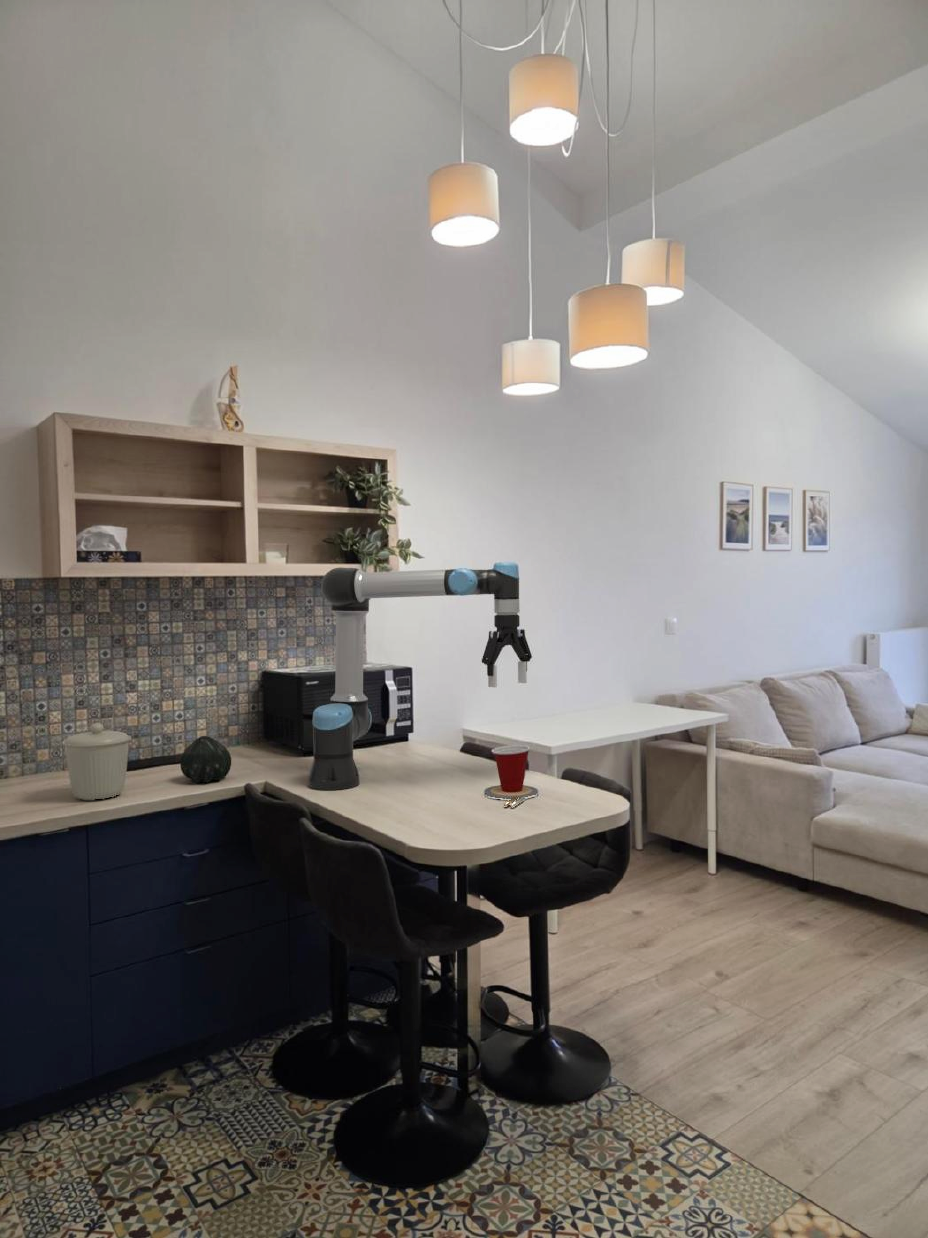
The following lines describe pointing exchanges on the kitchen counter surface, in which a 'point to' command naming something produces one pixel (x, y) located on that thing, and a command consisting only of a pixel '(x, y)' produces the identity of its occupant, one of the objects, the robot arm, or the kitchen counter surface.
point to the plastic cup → (511, 766)
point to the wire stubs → (513, 801)
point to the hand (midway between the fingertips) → (507, 685)
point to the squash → (205, 760)
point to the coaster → (498, 793)
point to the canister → (97, 762)
